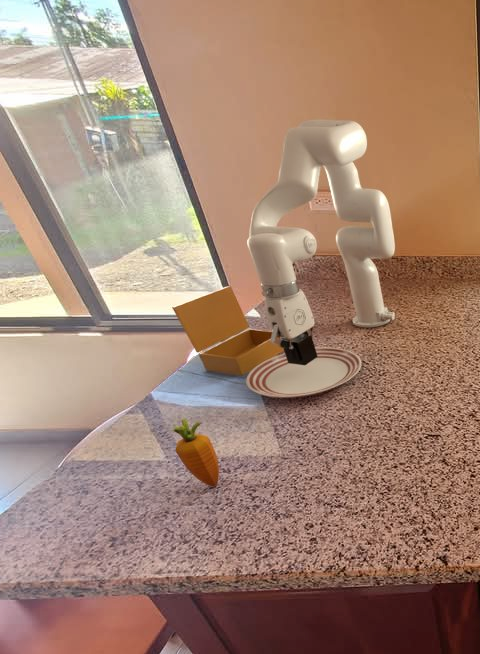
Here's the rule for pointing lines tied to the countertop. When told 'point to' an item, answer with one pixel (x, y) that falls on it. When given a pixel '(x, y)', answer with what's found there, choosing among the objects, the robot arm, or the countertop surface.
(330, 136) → the robot arm
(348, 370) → the dinner plate
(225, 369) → the box
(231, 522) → the countertop surface
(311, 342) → the black block
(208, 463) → the carrot
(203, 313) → the hinged box lid
